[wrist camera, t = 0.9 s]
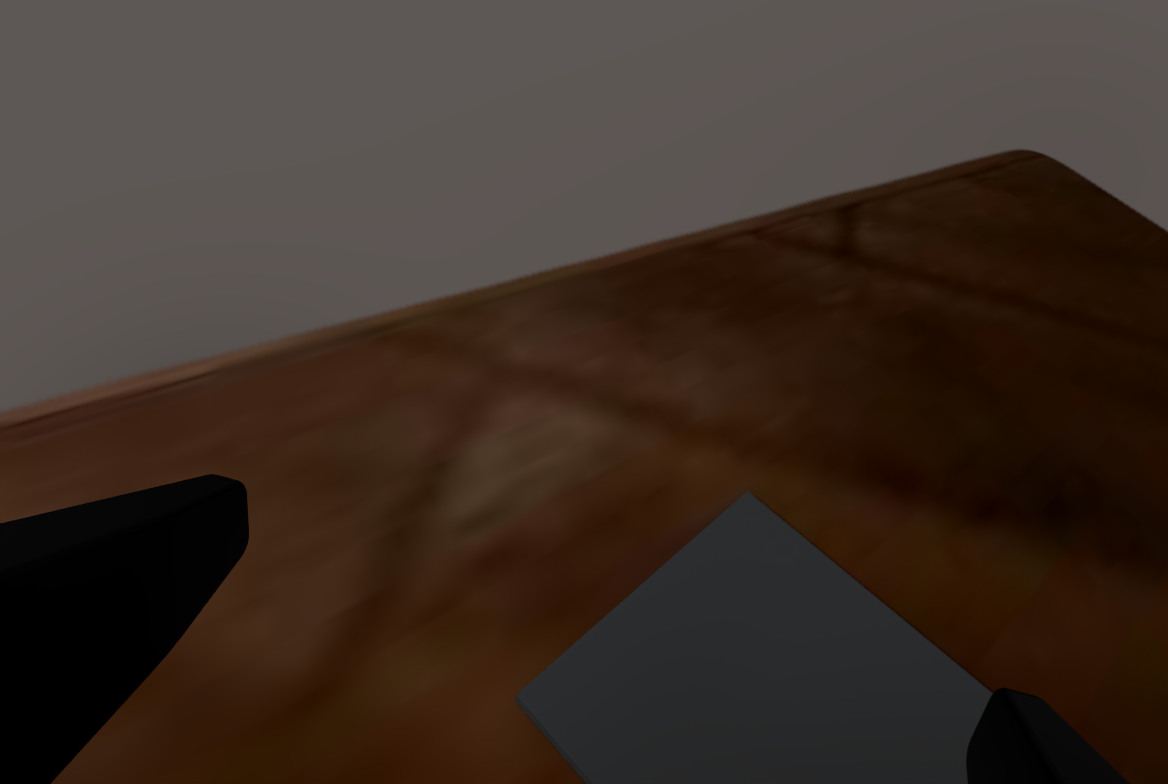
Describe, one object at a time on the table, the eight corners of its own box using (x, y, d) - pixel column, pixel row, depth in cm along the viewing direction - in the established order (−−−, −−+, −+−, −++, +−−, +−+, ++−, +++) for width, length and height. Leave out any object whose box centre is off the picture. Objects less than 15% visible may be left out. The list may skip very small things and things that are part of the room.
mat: (834, 1074, 18) (842, 1074, 18) (515, 700, 23) (516, 694, 23) (1025, 733, 25) (1034, 727, 24) (743, 498, 30) (747, 491, 29)
